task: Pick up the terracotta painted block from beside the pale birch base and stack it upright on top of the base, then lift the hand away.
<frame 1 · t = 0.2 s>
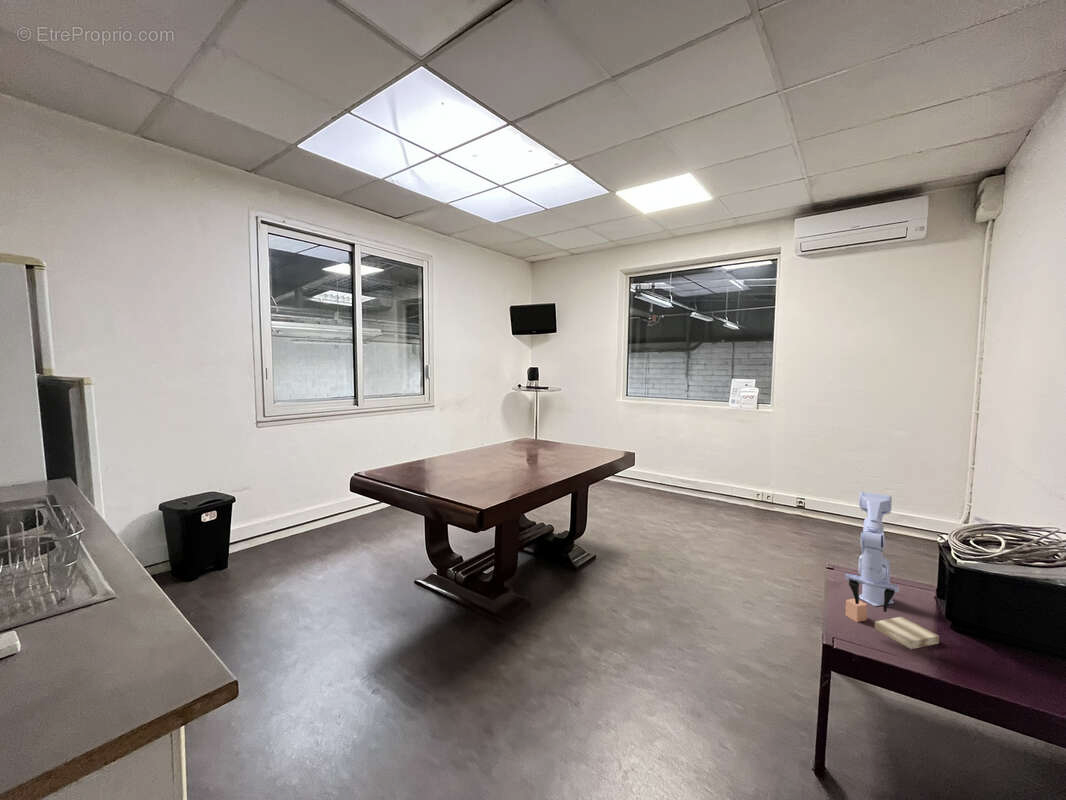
hand: (870, 607, 149), 10 cm above the table, tool pointing down, fingers open, 7 cm apart
birch base: (905, 636, 149), on the table
terracotta block: (856, 617, 161), on the table
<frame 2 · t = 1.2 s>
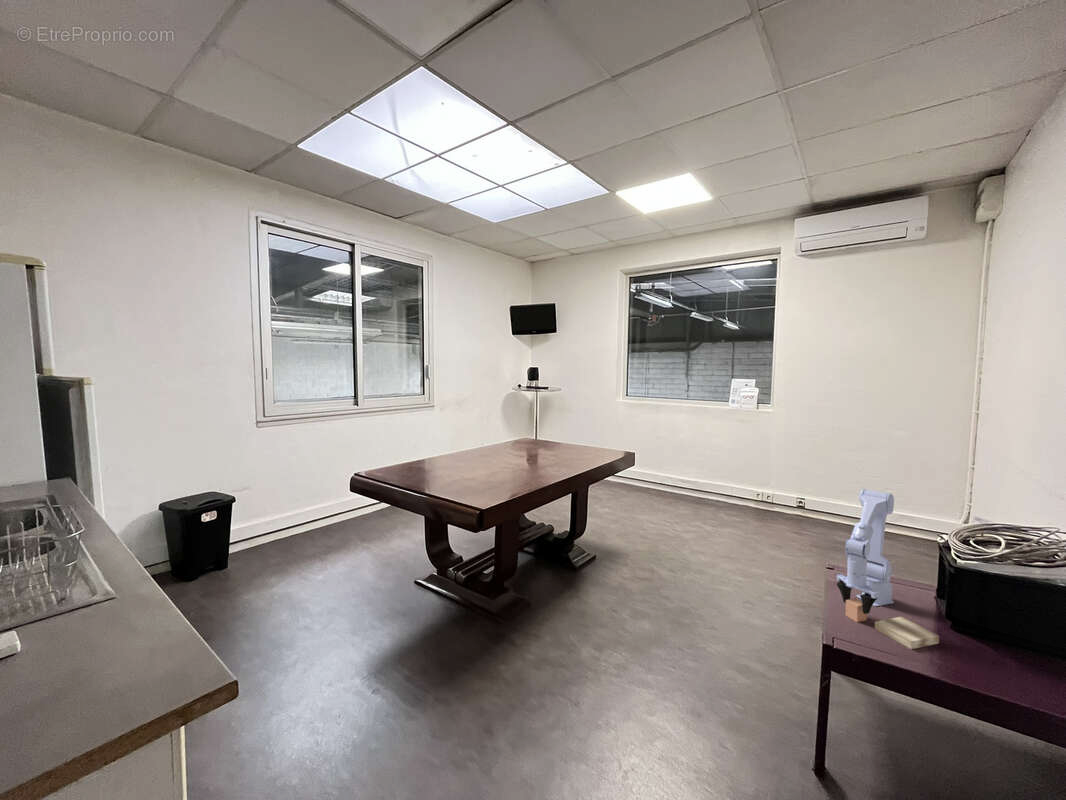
hand: (856, 607, 160), 4 cm above the table, tool pointing down, fingers open, 7 cm apart
nothing on the table moved.
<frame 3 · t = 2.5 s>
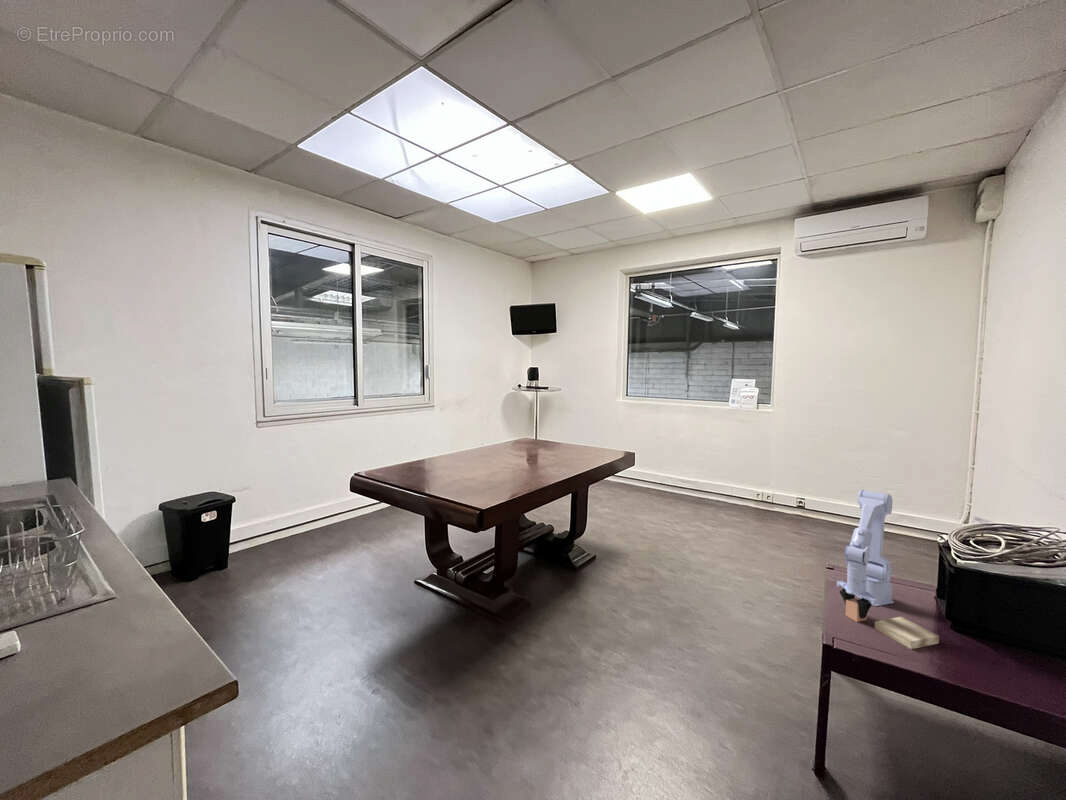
hand: (856, 613, 161), 1 cm above the table, tool pointing down, fingers closed on terracotta block, 4 cm apart
terracotta block: (856, 617, 161), on the table, touching gripper
everything else where it was.
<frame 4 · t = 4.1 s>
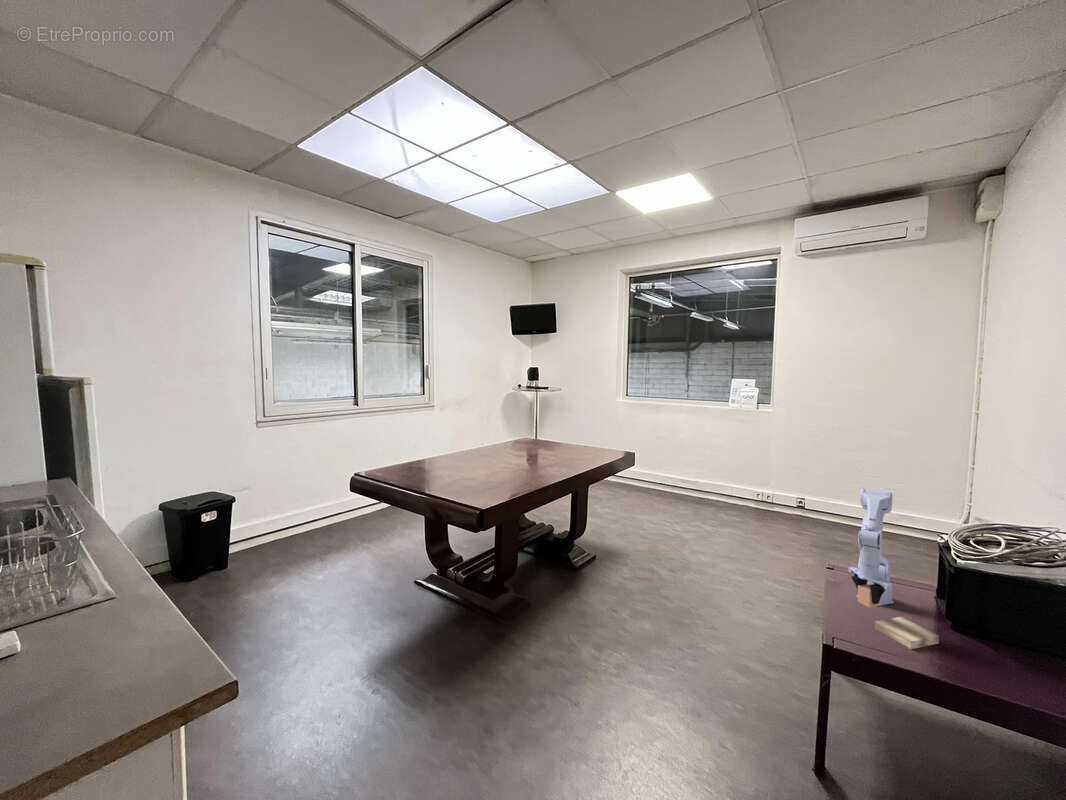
hand: (868, 599, 157), 8 cm above the table, tool pointing down, fingers closed on terracotta block, 4 cm apart
terracotta block: (868, 603, 157), point 7 cm above the table, touching gripper
everything else where it was.
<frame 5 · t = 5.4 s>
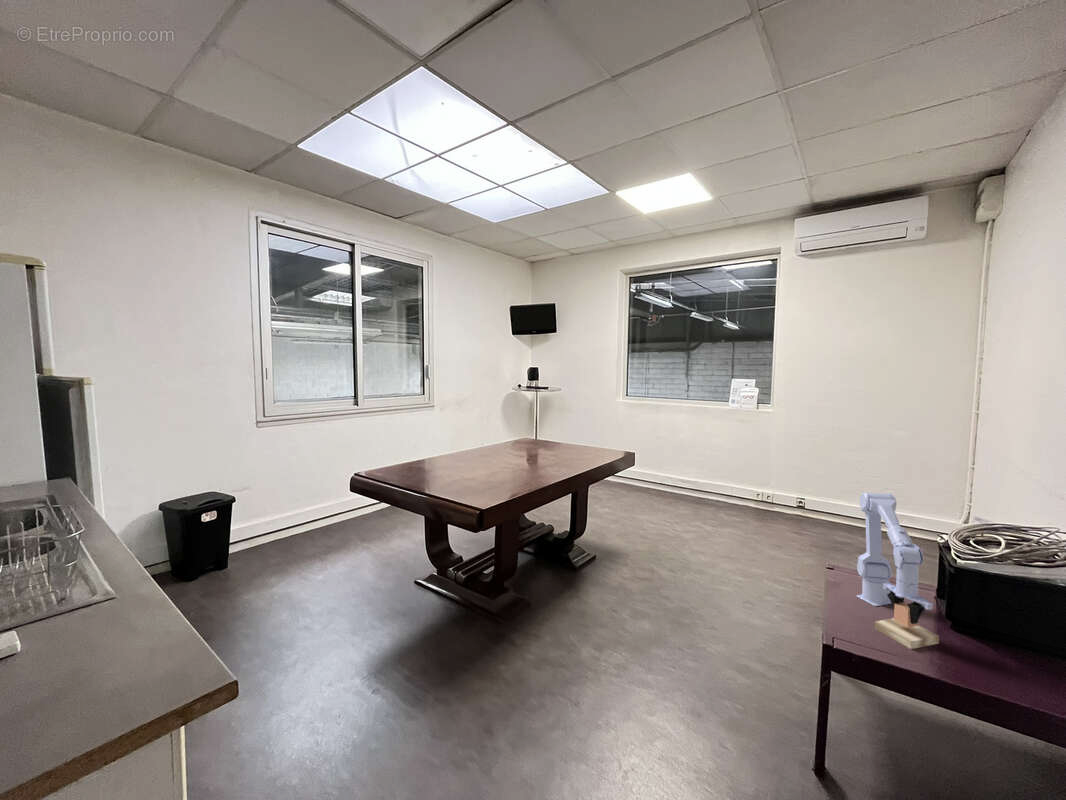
hand: (906, 618, 149), 6 cm above the table, tool pointing down, fingers closed on terracotta block, 4 cm apart
terracotta block: (905, 623, 149), point 4 cm above the table, touching gripper
everything else where it was.
when the fingers open (6 cm above the table, at t = 6.1 s): terracotta block drops 2 cm, resting on birch base.
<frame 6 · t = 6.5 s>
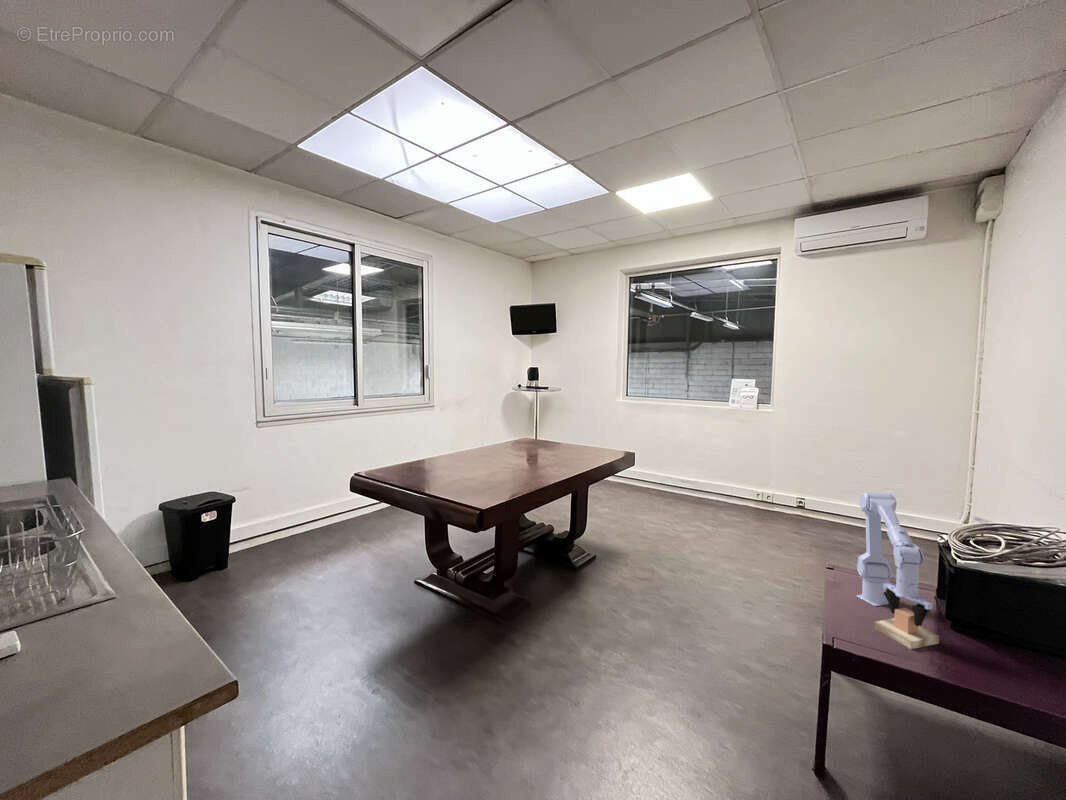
hand: (906, 618, 149), 6 cm above the table, tool pointing down, fingers open, 7 cm apart
birch base: (905, 637, 149), on the table, touching terracotta block
terracotta block: (906, 628, 149), point 2 cm above the table, touching birch base
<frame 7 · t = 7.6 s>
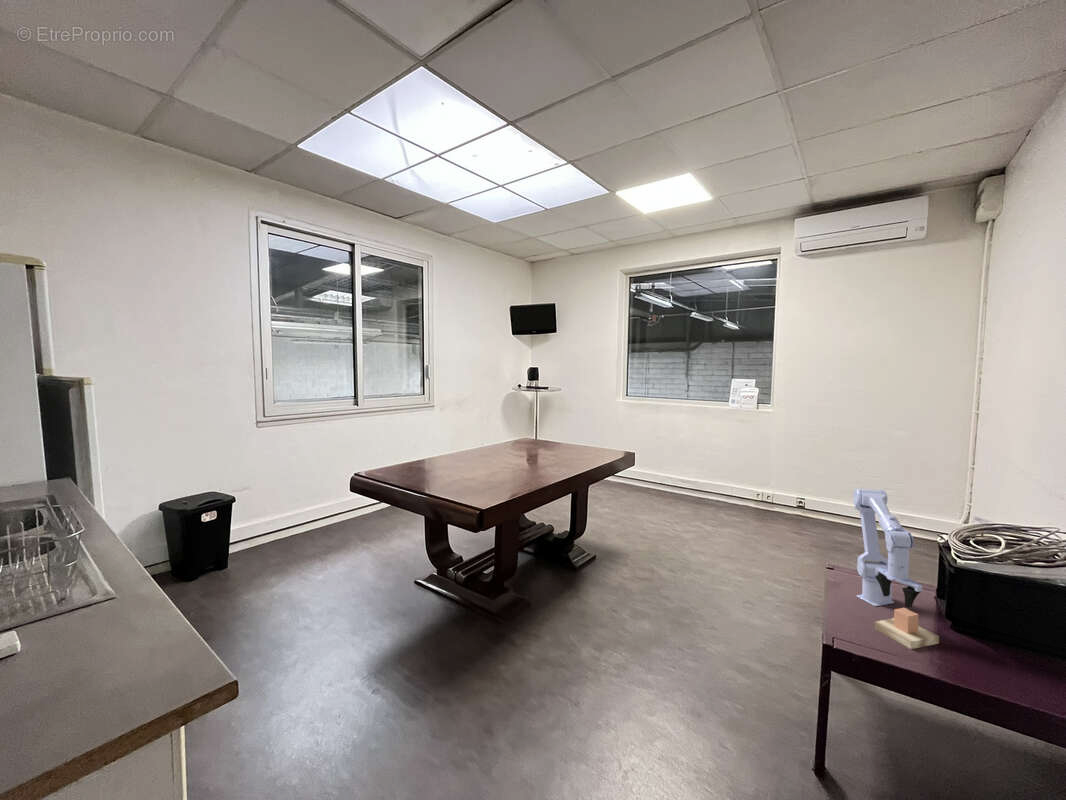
hand: (897, 601, 154), 9 cm above the table, tool pointing down, fingers open, 7 cm apart
nothing on the table moved.
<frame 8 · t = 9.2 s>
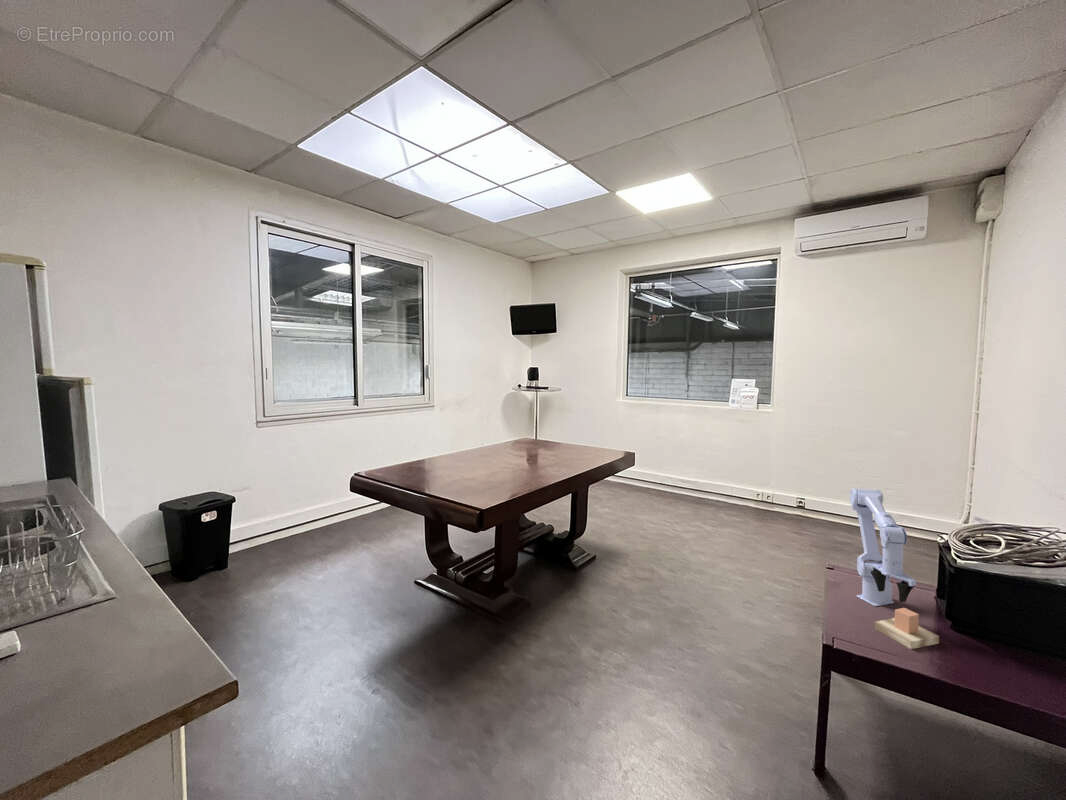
hand: (891, 596, 157), 9 cm above the table, tool pointing down, fingers open, 7 cm apart
nothing on the table moved.
at the end: terracotta block 0.1 cm off-centre on the birch base, point 3.0 cm above the birch base's base; terracotta block tilted 1°; the gripper is holding nothing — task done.
